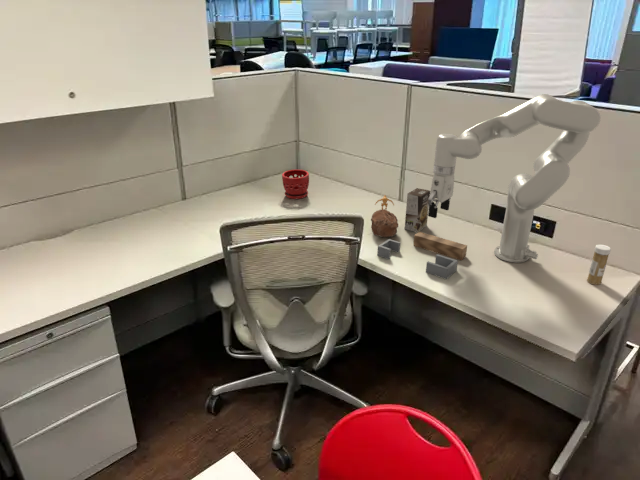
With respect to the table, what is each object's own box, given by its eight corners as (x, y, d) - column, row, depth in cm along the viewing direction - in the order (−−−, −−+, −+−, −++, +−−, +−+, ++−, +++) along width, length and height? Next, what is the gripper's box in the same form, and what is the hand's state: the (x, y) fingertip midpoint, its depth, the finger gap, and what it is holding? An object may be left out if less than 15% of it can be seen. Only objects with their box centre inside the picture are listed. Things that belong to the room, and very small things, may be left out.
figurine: (392, 217, 219) (394, 192, 214) (393, 223, 214) (395, 197, 209) (373, 217, 220) (375, 191, 215) (374, 222, 214) (375, 196, 209)
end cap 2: (456, 270, 176) (457, 260, 174) (446, 279, 170) (447, 269, 168) (436, 263, 180) (437, 254, 179) (425, 272, 175) (426, 262, 173)
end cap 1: (399, 251, 189) (400, 242, 187) (388, 259, 184) (389, 249, 182) (388, 248, 192) (389, 238, 190) (377, 255, 186) (377, 246, 185)
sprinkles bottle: (602, 286, 165) (612, 250, 160) (586, 283, 167) (596, 248, 161) (600, 280, 169) (610, 245, 163) (585, 277, 171) (595, 242, 165)
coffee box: (417, 232, 205) (421, 196, 198) (403, 229, 208) (406, 193, 201) (427, 225, 211) (431, 190, 204) (414, 222, 215) (417, 187, 208)
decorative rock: (367, 228, 209) (368, 206, 205) (393, 226, 210) (395, 205, 206) (373, 241, 198) (374, 218, 193) (401, 240, 198) (402, 217, 194)
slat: (465, 257, 185) (467, 245, 183) (461, 261, 183) (462, 249, 180) (418, 242, 197) (419, 231, 195) (413, 246, 194) (414, 235, 192)
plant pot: (282, 192, 249) (281, 169, 244) (308, 191, 251) (307, 168, 245) (283, 201, 238) (282, 178, 232) (310, 200, 239) (310, 176, 234)
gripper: (442, 177, 168) (436, 222, 176) (464, 165, 180) (457, 209, 188) (422, 172, 172) (418, 217, 180) (445, 161, 184) (440, 204, 192)
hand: (438, 213), depth 184 cm, fingers open, 9 cm apart
